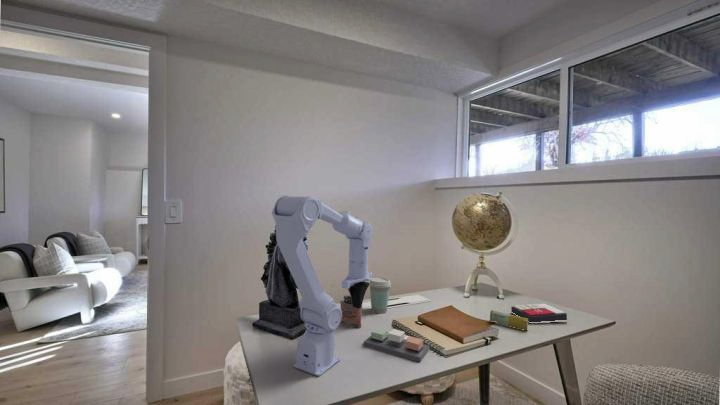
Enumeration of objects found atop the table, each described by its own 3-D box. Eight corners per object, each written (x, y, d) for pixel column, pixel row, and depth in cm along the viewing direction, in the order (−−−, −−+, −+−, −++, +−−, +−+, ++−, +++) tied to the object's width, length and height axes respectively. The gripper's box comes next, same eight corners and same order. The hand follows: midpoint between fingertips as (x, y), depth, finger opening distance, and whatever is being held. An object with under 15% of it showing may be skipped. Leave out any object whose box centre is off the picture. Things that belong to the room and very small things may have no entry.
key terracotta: (418, 351, 83) (418, 344, 83) (406, 347, 85) (406, 341, 85) (422, 345, 86) (423, 339, 86) (410, 342, 88) (410, 336, 88)
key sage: (382, 340, 89) (382, 334, 89) (371, 337, 90) (371, 331, 90) (387, 336, 92) (387, 330, 92) (376, 333, 94) (376, 327, 94)
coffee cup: (391, 315, 114) (392, 283, 114) (368, 314, 114) (369, 282, 114) (389, 307, 123) (390, 277, 123) (367, 306, 123) (368, 276, 123)
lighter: (337, 324, 104) (338, 294, 104) (342, 320, 107) (343, 292, 107) (358, 329, 100) (359, 298, 100) (363, 325, 103) (364, 296, 103)
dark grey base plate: (420, 362, 81) (420, 357, 81) (363, 345, 89) (363, 340, 89) (429, 350, 88) (429, 345, 88) (376, 335, 96) (376, 331, 96)
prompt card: (415, 344, 91) (415, 342, 91) (391, 337, 95) (391, 335, 95) (419, 340, 94) (419, 338, 94) (395, 333, 98) (395, 331, 98)
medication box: (489, 322, 110) (489, 311, 110) (491, 320, 112) (491, 309, 112) (527, 332, 103) (527, 320, 103) (528, 329, 105) (528, 318, 105)
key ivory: (399, 342, 86) (400, 336, 86) (388, 339, 88) (388, 333, 88) (404, 337, 89) (404, 331, 89) (393, 334, 91) (393, 328, 91)
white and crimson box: (510, 304, 121) (544, 302, 123) (510, 315, 121) (545, 312, 123) (530, 314, 110) (567, 311, 112) (530, 326, 110) (567, 323, 112)
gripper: (357, 267, 83) (356, 317, 83) (381, 259, 95) (380, 302, 96) (336, 264, 86) (334, 312, 86) (361, 256, 99) (360, 298, 99)
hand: (357, 307), depth 91 cm, fingers closed
